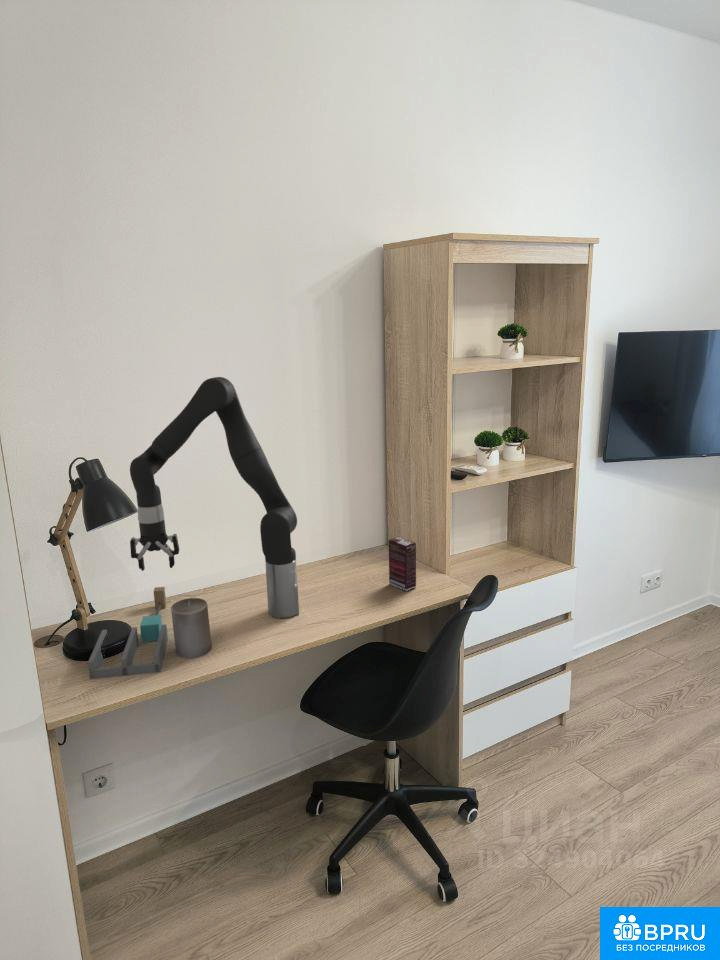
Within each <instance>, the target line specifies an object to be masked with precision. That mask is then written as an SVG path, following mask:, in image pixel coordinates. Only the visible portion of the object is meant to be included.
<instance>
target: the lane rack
mask: <svg viewBox="0 0 720 960" xmlns="http://www.w3.org/2000/svg"><path fill="white" fill-rule="evenodd" d="M106 634H107V635H108V630H107V629H101V632H100V634H99V637H98V639H97V641H96V643H95V645H94V648H93V650H92V652H91V654H90V656H89V659H88V662H87V665H88V672H89V678H90V679H91V680H92V679H93V680H95V679H103V678H105V679H106V678H113V677H124V676H134V675H146V674H147V675H148V674H155V673H161V670H162V666H163V661H164V658H165V655H166V654H165V653H166V649H167V645H168V640H169V637H168V627H167V624H162V627H161V630H160V634H159V638H158V641H157V642H156V647H155V649H154V653H153V661H154V662H147V663H136V664H133V660H134V658H135V655H136V650H137V648H138V646H139V634H138V627H137V626H134V627H133V626H132V627H131V630H130V633H129V635H128V638H127V641H126V644H125V646H124V649H123V651H122V652H123V653H122V655H121V657H120V661H121V662H120V663H121V665H116V666H105V667H104V666H103V667H101V665H102V663H103V661H104V658H103V655H102V653H101V645H102V643H103V640H104V638H105V636H106Z"/></svg>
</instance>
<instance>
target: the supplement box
mask: <svg viewBox="0 0 720 960" xmlns="http://www.w3.org/2000/svg"><path fill="white" fill-rule="evenodd" d="M388 570H389V571H388V573H389V574H388V575H389V577H388V579H389V585H390V584H391V585H390V586H392V585H393V587H395V588H397V587H398V588H397V589H399V588H400V590H402V589H403V590H402V591H404V590H405V591H404V592H408V590H409V591H411V590H410V589H412V588H414V589H416V588H417V543H416V542H414V541H411V540H408V539H406V538H403V537H400V536H397V537H394V538H390V539H388ZM415 587H416V588H415ZM412 590H413V589H412Z"/></svg>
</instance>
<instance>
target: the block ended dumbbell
mask: <svg viewBox="0 0 720 960" xmlns="http://www.w3.org/2000/svg"><path fill="white" fill-rule="evenodd" d="M153 598H154V608H155V613H154V615H147V616H143V617H142V619H141V622H140V628H139V629H140V637H141V642H142V643H147V642H156V641H157V642H158V638H159V634H160V630H161V627H162V625H163V623H162V622H163V621H162V615H161V614H160V611H161V609H166V607H167V598H166V587H165V586H161V587H160V586H156V587H154V589H153Z"/></svg>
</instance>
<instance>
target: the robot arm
mask: <svg viewBox="0 0 720 960" xmlns="http://www.w3.org/2000/svg"><path fill="white" fill-rule="evenodd" d="M238 396H239V395H238V393H237V390H236V388H235V386H234V384H233V383H232V382H231V381H230V380H229V379H228V378H226V377H222V376H215V377H210V378H207V379H205V380H204V381H203V382H202V383H201V384H200V386H199V387H198V389H197V390H196V391H195V393H194V395H193V396H192V398H191V399H190V400H189V402H188V403H187V404H186V406H185V407H184V408H183V409H182V410H181V412H180V413H179V414H178V415H177V416H175V418H174V419H173V420H172V421H171V422H170V423H169V424H167V426H166V427H165V428H164V429H163V430H161V432H159V434H158V435H157V436H156V437H155V438H154V440H153V441H152V442H151V444H150V446H149V447H148V448H147V449H146V450H145V451H144V452H143V453H141V454H140V455H138V456H136V457H135V458H134V459H133V460H132V461H131V462H130V465H129V475H130V478H131V482H132V485H133V487H134V490H135V494H136V503H137V520H138V526H139V535H140V537H138V538H137V537H134V536H133V537H131V539H130V541H129V545H130V548H129V549H130V557H131V559H137V561H138V563H137V564H138V569H139V570H141V572H143V571H145V559H144V555H145V554H146V552H147V551H149V552H154V551H156V552H159V551H161V550H162V552H163V553H165V554H167V556H168V563H169V564H168V565H169V569H172V568H173V567H175V563H176V562H175V555H179V553H180V544H179V540H178V536H177V533H173V534H171V535H167V531H166V530H167V529H166V522H165V514H164V506H163V503H162V502H163V501H162V495H161V490H160V487H159V486H158V484H156V482H155V474H157V473H158V472H159V470H160V469H162V468H163V466H164V465H166V463H167V462H168V460H169V459H171V457H173V456H174V455H175V454H176V453H177V452H178V451H179V450H180V449H181V448H182V446H184V444H186V442H187V441H188V440H189V439H190V437H191V436H192V434H193V433H194V432H195V430H196V429H197V428H198V426H199V425H200V424H201V423H202V422H203V421H205V420H206V418H208V417H209V416H211V415H213V414H214V413H216V414H217V417H218V419H219V420H220V421H221V424H222V425H223V430H224V433H225V438H226V443H227V448H228V451H229V455H230V457H231V461H232V462H233V464H234V466H235V469H236V471H237V472H238V474H239V476H240V477H241V479H242V480H243V481H244V482H245V483H246V484H247V485H248V486H249V487H250V488H251V489H252V490H253V491H254V492H255V493H256V494H257V495H258V496H259V498H260V500H261V502H262V504H263V506H264V507H263V508H264V509H265V511H266V513H265V514H264V515H263V517H262V519H260V523H259V524H260V527H259V530H260V531H259V532H260V542H261V550H262V554H263V555H264V562H265V575H266V576H265V578H266V595H267V609H268V610H267V612H268V615H269V616H270V617H272V618H275V619H288V618H291V617H293V616H297V615H299V614H300V607H299V605H300V604H299V588H298V585H299V584H298V575H297V571H298V570H297V554H296V553H297V552H296V550H295V548H294V547H292V538H291V534H292V533H293V532H294V530H295V529H296V528H297V525H298V517H297V513H296V512H295V509H294V508H293V506H292V505H291V503H290V501H289V500H288V498H287V496H286V495H285V493H284V491H283V490H282V489H281V487H280V484H279V483H278V480H277V478H276V476H275V473H274V472H273V469H272V468H271V465H270V464H269V461H268V459H267V457H266V454H265V452H264V450H263V447H262V446H261V444H260V443H259V441H258V438H257V436H256V434H255V432H254V431H253V428H252V427H251V425H250V423H249V421H248V419H247V417H246V415H245V413H244V409H243V407H242V405H241V402H240V399H239V397H238ZM168 540H169V541H170V542H171V543H172V545H173V549H172V548H170V545H169V544H168V543H167V542H168ZM139 543H140V545H141V546H142V548H141V550H140V551H139V553H138V552H137V545H138V544H139Z"/></svg>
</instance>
